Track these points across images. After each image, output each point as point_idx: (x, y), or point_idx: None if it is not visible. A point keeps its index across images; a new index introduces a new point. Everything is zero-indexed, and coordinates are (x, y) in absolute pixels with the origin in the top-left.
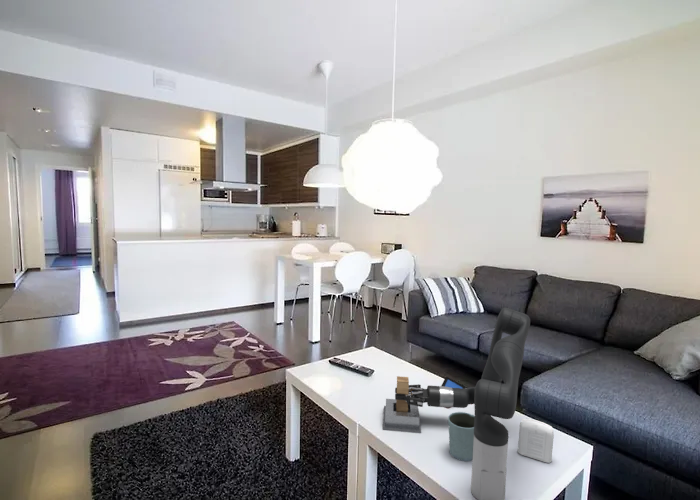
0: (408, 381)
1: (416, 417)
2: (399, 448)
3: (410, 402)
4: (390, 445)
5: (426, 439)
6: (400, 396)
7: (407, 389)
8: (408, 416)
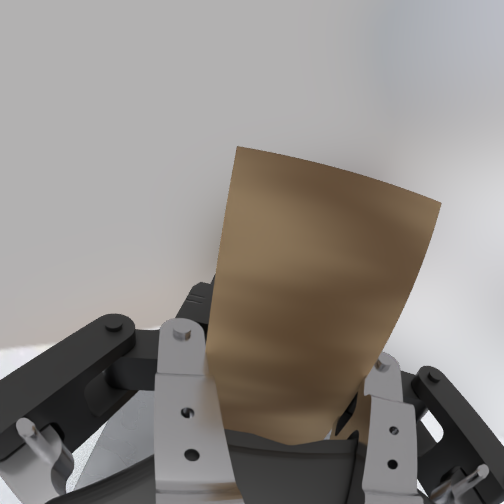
0: (257, 150)
1: (80, 478)
2: (12, 362)
3: (107, 387)
4: (41, 347)
5: (13, 496)
6: (186, 300)
7: (218, 285)
8: (105, 429)
